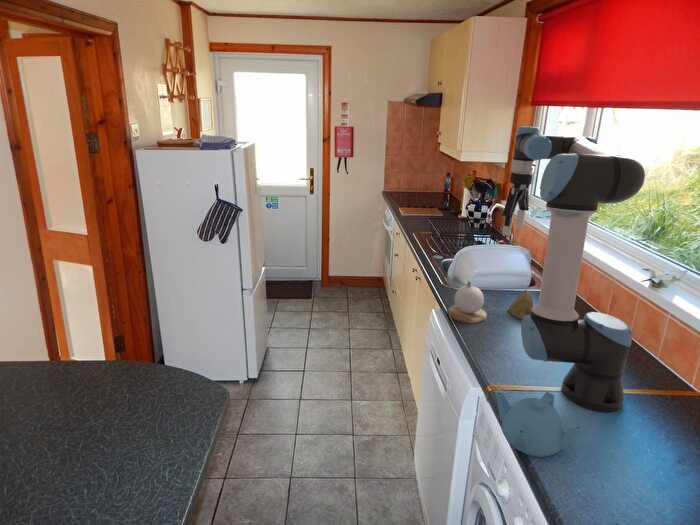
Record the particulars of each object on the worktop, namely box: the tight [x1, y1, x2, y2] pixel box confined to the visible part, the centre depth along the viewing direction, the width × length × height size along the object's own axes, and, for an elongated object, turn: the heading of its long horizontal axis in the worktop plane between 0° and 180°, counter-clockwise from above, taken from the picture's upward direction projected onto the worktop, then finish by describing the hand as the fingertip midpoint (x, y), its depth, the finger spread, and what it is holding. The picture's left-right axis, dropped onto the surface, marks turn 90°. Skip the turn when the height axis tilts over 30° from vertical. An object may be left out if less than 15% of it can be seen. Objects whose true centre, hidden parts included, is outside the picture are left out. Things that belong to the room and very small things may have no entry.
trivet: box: [447, 304, 488, 324], centre depth 174 cm, size 14×14×1 cm
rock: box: [507, 289, 534, 321], centre depth 173 cm, size 11×9×10 cm
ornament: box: [454, 280, 485, 313], centre depth 172 cm, size 10×10×12 cm
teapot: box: [495, 391, 583, 458], centre depth 109 cm, size 15×15×11 cm
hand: (512, 230), depth 169 cm, fingers open, 13 cm apart
